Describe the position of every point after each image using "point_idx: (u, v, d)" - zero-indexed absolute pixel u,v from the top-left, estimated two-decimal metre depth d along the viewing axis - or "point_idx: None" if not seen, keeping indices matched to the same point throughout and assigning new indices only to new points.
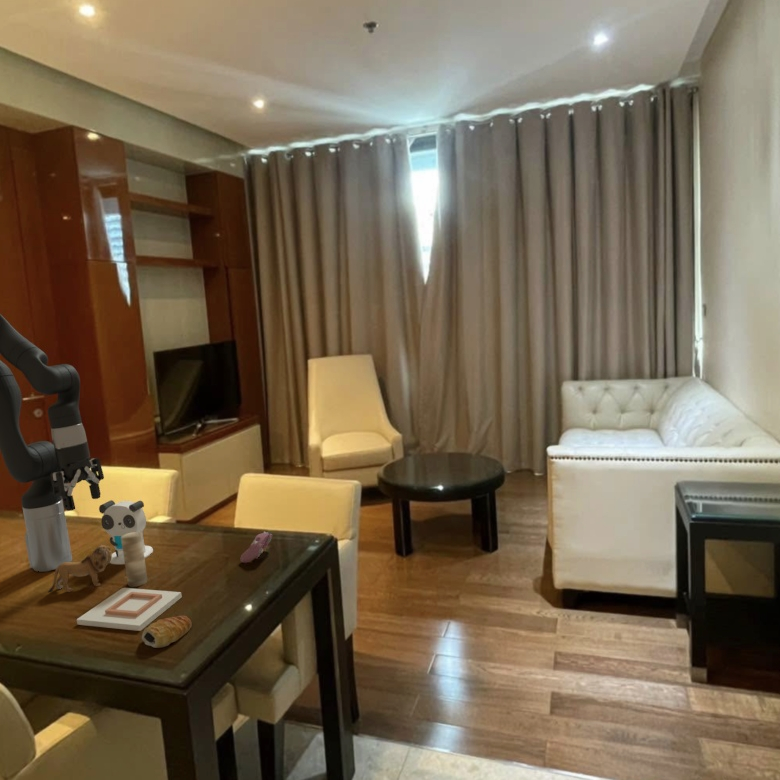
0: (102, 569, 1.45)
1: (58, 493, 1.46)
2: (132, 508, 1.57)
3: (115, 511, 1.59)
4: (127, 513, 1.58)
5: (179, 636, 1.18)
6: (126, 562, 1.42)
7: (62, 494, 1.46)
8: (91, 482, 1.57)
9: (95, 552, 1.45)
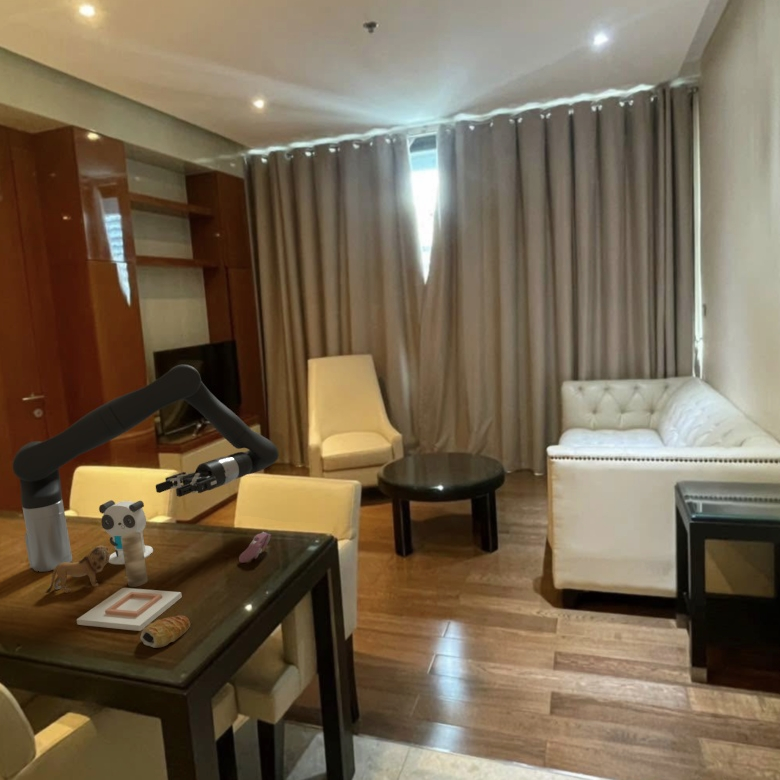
0: (100, 569, 1.45)
1: (201, 488, 1.51)
2: (132, 508, 1.57)
3: (115, 511, 1.59)
4: (127, 513, 1.58)
5: (178, 635, 1.19)
6: (126, 562, 1.42)
7: (200, 492, 1.51)
8: (171, 482, 1.57)
9: (93, 552, 1.45)
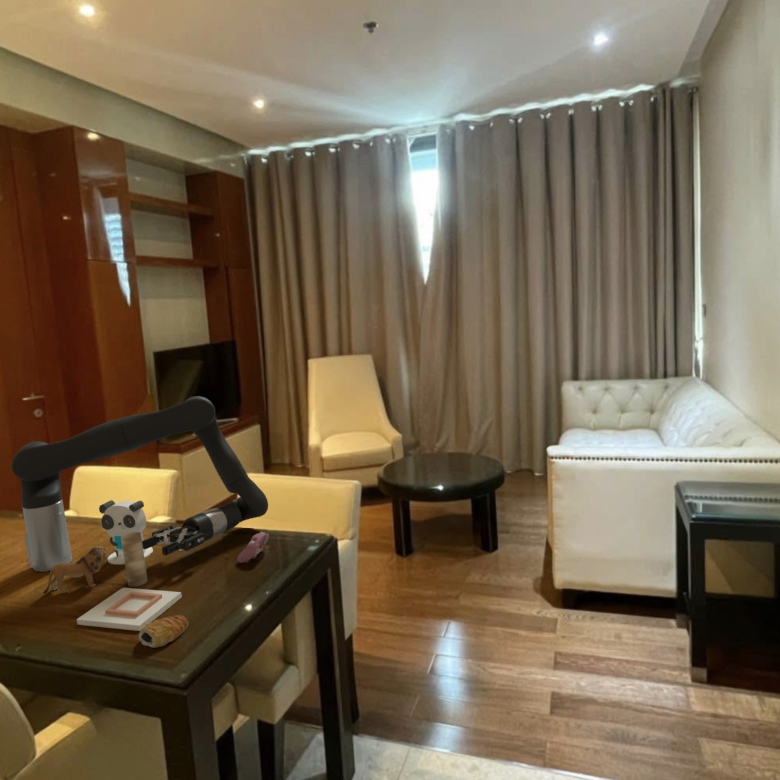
0: (97, 570, 1.45)
1: (188, 546, 1.49)
2: (132, 508, 1.57)
3: (115, 511, 1.59)
4: (127, 513, 1.58)
5: (177, 635, 1.19)
6: (126, 562, 1.42)
7: (187, 550, 1.49)
8: (158, 538, 1.54)
9: (90, 553, 1.45)
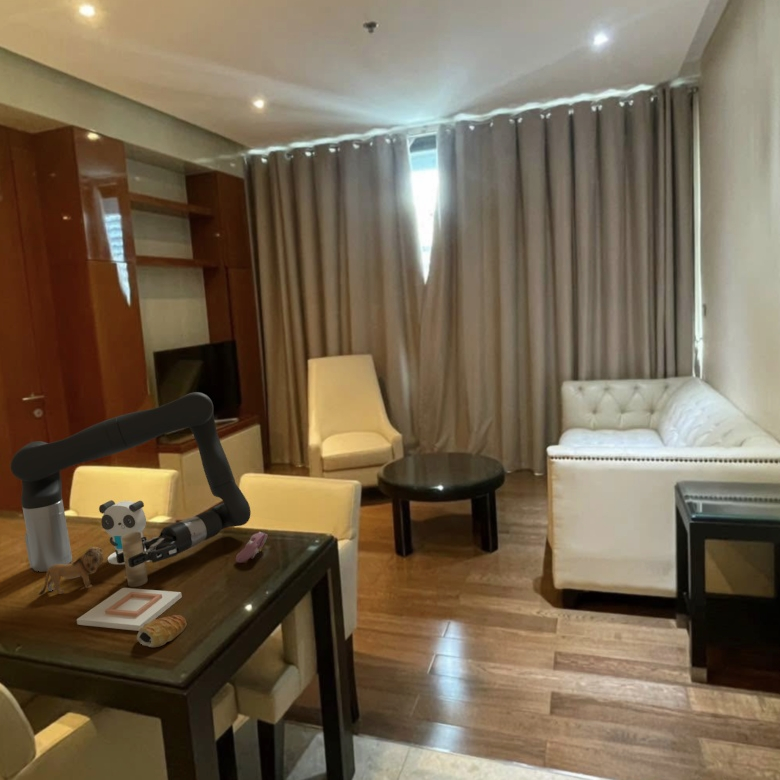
0: (94, 571, 1.45)
1: (155, 557, 1.43)
2: (132, 508, 1.57)
3: (115, 511, 1.59)
4: (127, 513, 1.58)
5: (175, 635, 1.19)
6: (126, 562, 1.42)
7: (155, 561, 1.43)
8: None
9: (87, 554, 1.44)
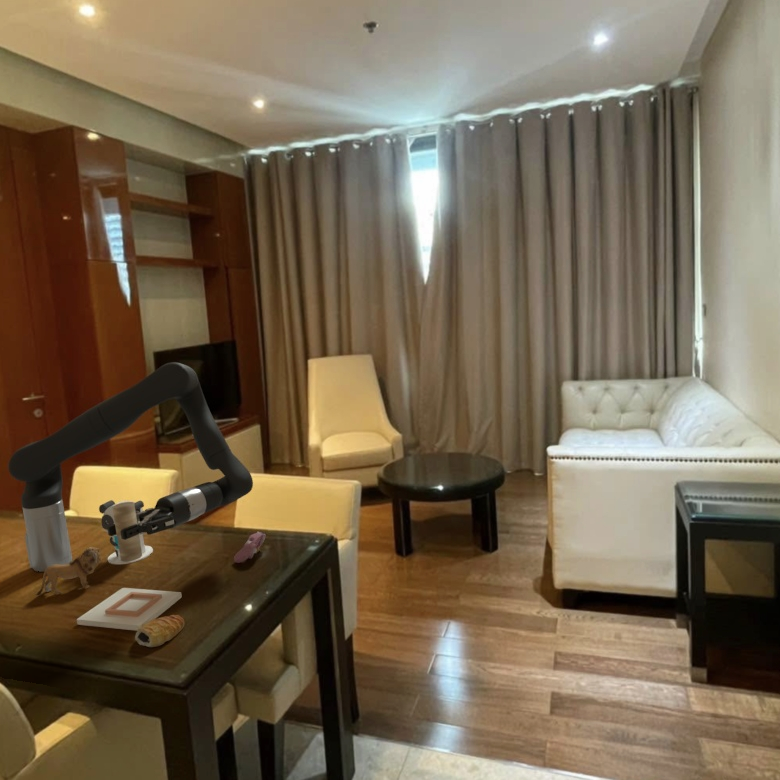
0: (91, 571, 1.45)
1: (150, 529, 1.30)
2: None
3: None
4: None
5: (173, 634, 1.19)
6: (118, 534, 1.29)
7: None
8: None
9: (84, 554, 1.44)
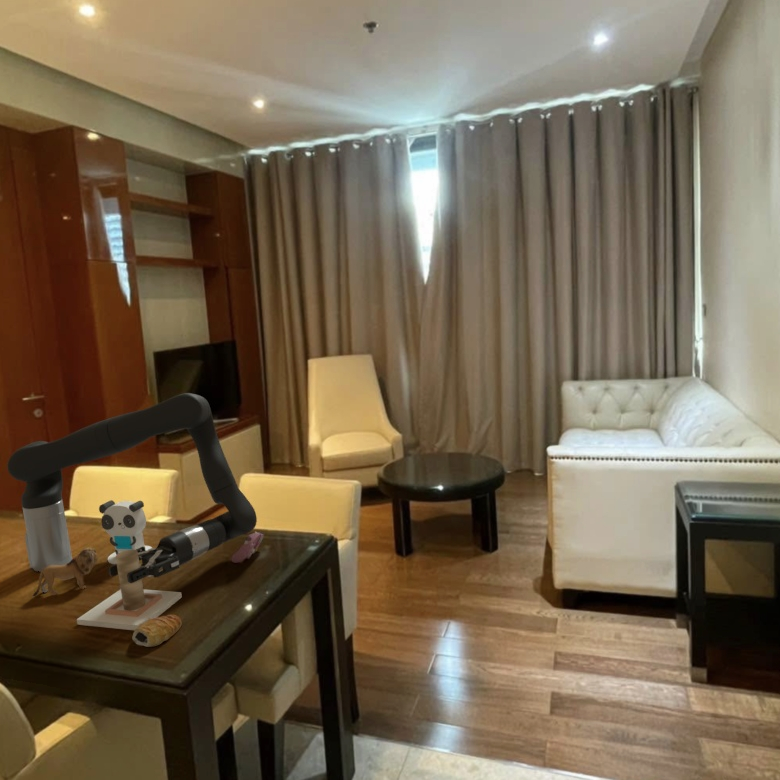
0: (88, 571, 1.45)
1: (158, 572, 1.29)
2: (132, 508, 1.57)
3: (115, 511, 1.59)
4: (127, 513, 1.58)
5: (171, 634, 1.19)
6: (121, 583, 1.28)
7: (157, 576, 1.29)
8: None
9: (81, 554, 1.44)
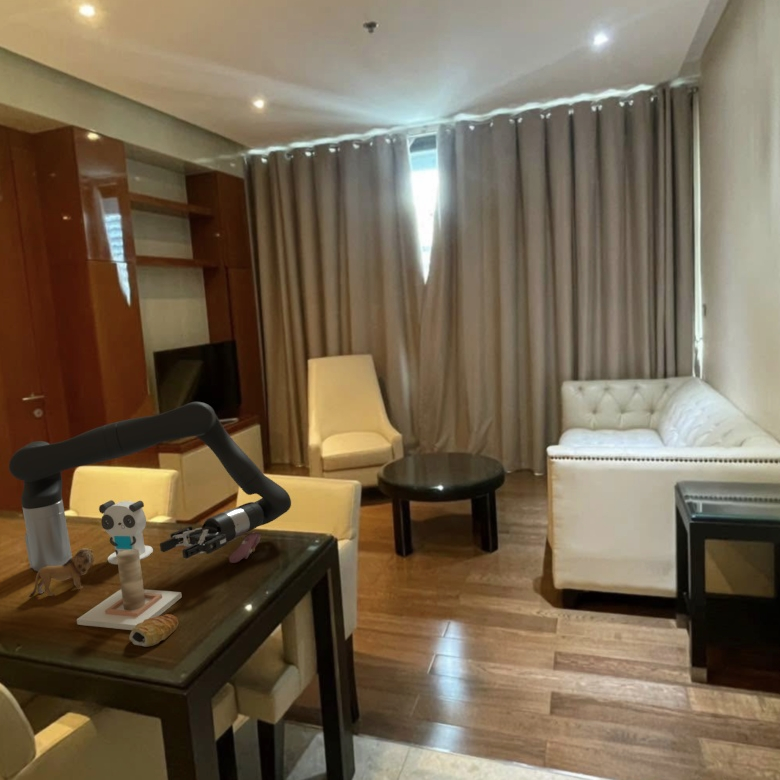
0: (85, 572, 1.45)
1: (210, 548, 1.39)
2: (132, 508, 1.57)
3: (115, 511, 1.59)
4: (127, 513, 1.58)
5: (168, 634, 1.20)
6: (122, 582, 1.28)
7: None
8: (177, 539, 1.45)
9: (78, 555, 1.44)
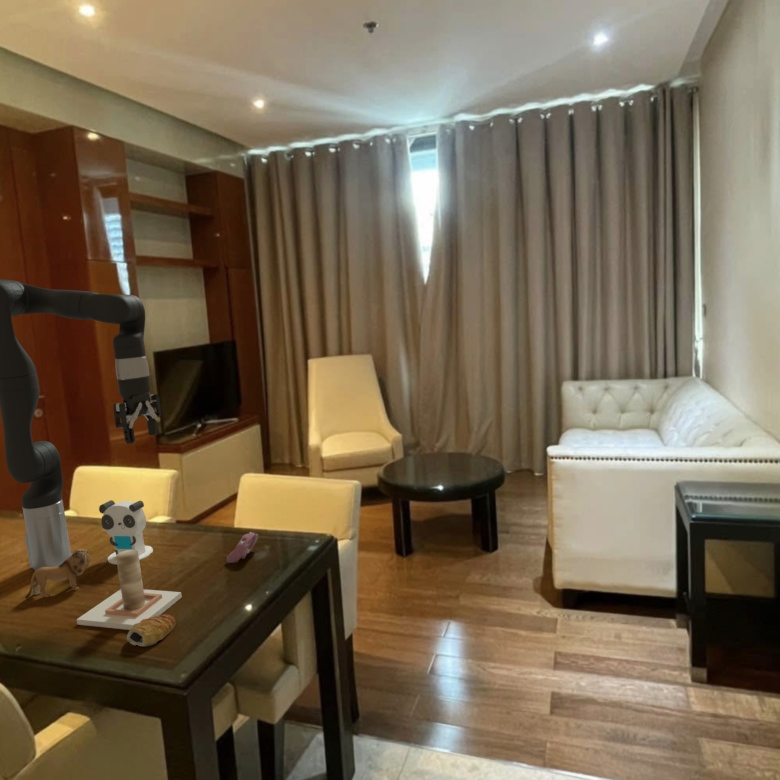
0: (81, 573, 1.44)
1: (120, 424, 1.44)
2: (132, 508, 1.57)
3: (115, 511, 1.59)
4: (127, 513, 1.58)
5: (166, 633, 1.20)
6: (121, 583, 1.28)
7: (124, 425, 1.44)
8: (149, 418, 1.54)
9: (73, 556, 1.44)
